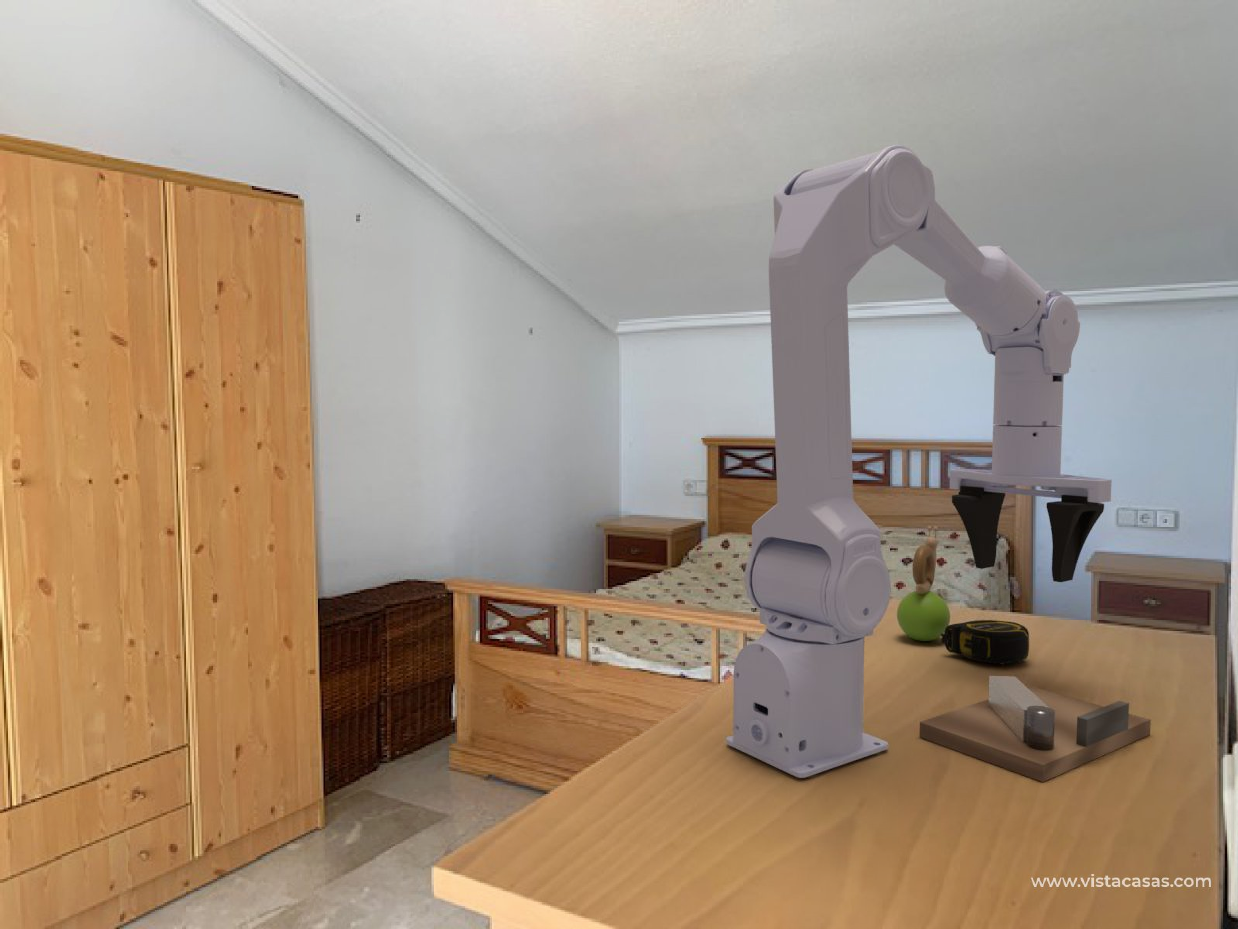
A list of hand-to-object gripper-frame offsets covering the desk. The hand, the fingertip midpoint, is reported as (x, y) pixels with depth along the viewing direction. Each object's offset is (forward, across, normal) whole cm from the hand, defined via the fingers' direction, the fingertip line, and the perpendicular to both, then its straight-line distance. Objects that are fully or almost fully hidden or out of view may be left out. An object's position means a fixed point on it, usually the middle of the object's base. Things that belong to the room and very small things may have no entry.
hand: (1022, 573), depth 83 cm
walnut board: (+10, -8, +12) cm, 18 cm away
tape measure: (+10, +6, -4) cm, 13 cm away
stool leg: (+9, -9, +14) cm, 18 cm away
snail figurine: (+10, +14, -5) cm, 18 cm away
